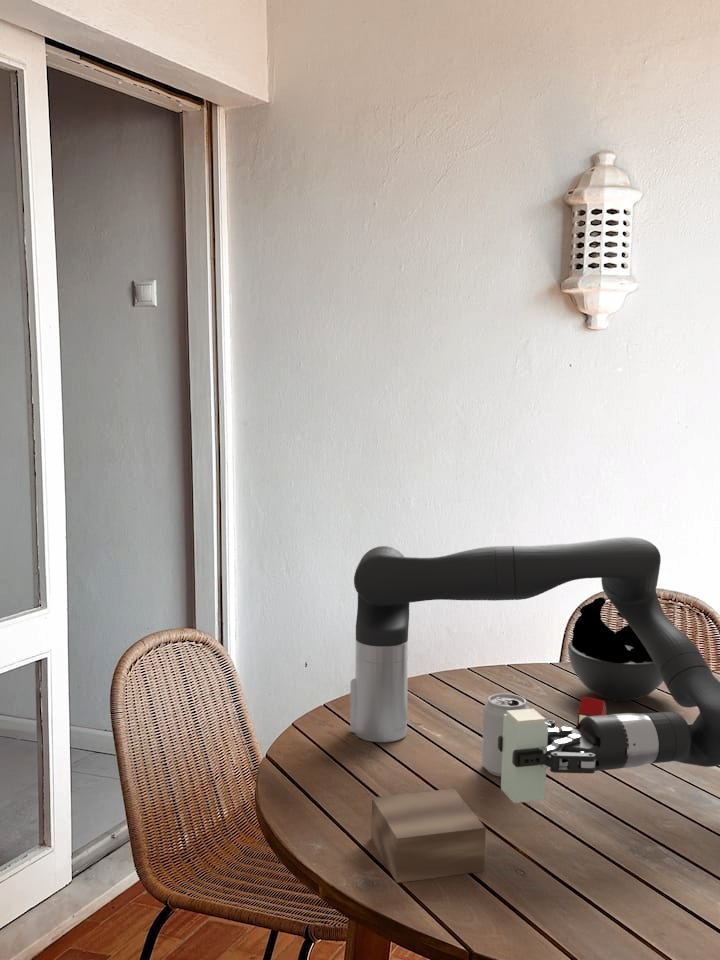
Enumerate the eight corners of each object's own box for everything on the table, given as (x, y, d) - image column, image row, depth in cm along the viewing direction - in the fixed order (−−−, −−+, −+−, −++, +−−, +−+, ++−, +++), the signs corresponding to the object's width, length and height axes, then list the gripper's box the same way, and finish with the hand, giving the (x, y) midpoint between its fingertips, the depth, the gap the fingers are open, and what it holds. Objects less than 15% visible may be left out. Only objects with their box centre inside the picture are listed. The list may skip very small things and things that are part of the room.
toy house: (576, 746, 172) (577, 701, 171) (578, 732, 178) (579, 689, 177) (610, 749, 170) (612, 704, 169) (611, 736, 177) (612, 692, 176)
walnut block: (371, 838, 138) (371, 797, 137) (452, 828, 141) (453, 788, 140) (396, 882, 126) (397, 838, 125) (484, 871, 129) (485, 827, 128)
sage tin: (500, 788, 140) (503, 710, 138) (530, 785, 141) (534, 707, 139) (513, 803, 135) (517, 722, 134) (544, 800, 137) (548, 719, 135)
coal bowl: (684, 716, 185) (689, 619, 183) (577, 715, 185) (581, 617, 183) (654, 681, 205) (658, 593, 203) (557, 680, 205) (560, 592, 203)
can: (527, 781, 157) (529, 708, 155) (480, 777, 158) (481, 704, 157) (529, 762, 164) (531, 692, 162) (483, 758, 165) (485, 689, 164)
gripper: (594, 698, 147) (487, 707, 143) (645, 734, 134) (528, 745, 129) (592, 746, 148) (485, 756, 144) (642, 787, 135) (526, 799, 130)
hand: (506, 751), depth 137 cm, fingers closed on sage tin, 4 cm apart
